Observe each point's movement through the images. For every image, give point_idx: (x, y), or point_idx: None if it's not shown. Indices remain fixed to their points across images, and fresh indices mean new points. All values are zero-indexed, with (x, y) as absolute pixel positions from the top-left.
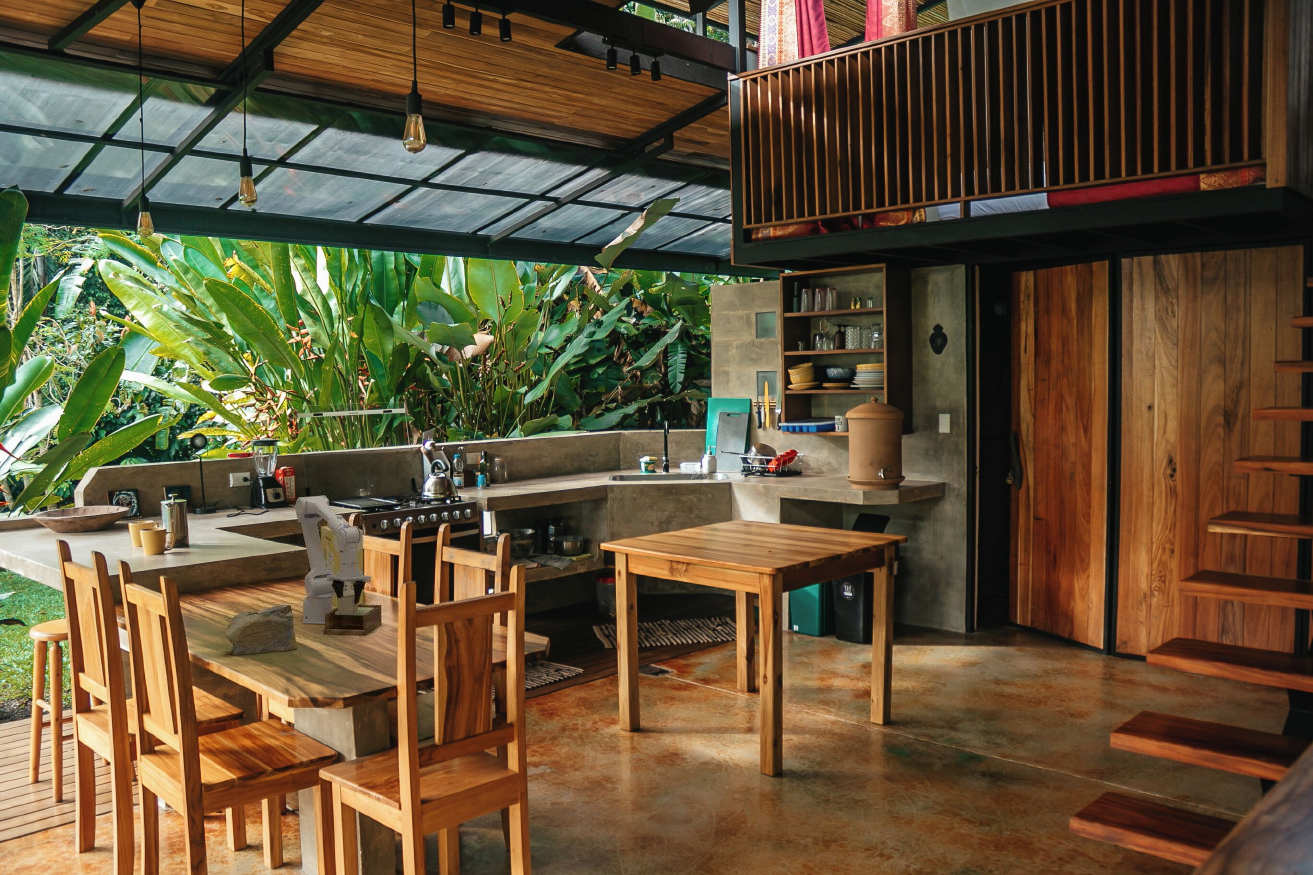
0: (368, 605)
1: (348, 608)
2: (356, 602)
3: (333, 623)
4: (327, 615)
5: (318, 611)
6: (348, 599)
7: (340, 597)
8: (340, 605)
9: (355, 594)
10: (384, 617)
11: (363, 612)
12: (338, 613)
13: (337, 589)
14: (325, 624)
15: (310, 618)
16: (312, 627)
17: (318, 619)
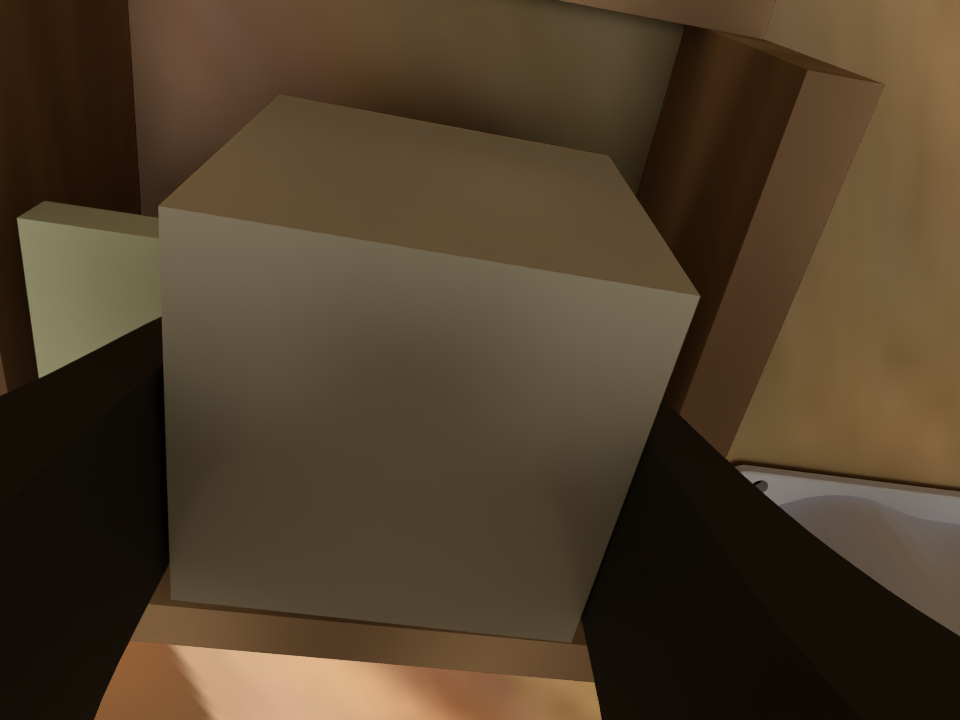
0: (178, 605)
1: (348, 142)
2: (152, 321)
3: (658, 231)
4: (812, 69)
5: (906, 590)
6: (301, 221)
7: (628, 467)
8: (569, 202)
9: (37, 423)
10: (217, 674)
11: (103, 251)
12: (591, 152)
13: (832, 629)
14: (780, 47)
15: (947, 544)
16: (903, 351)
17: (857, 516)
